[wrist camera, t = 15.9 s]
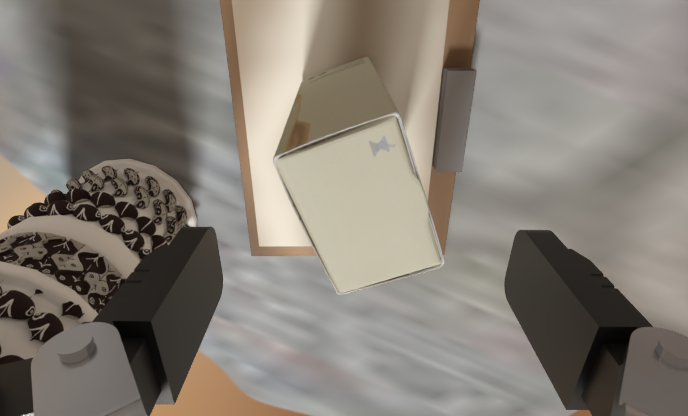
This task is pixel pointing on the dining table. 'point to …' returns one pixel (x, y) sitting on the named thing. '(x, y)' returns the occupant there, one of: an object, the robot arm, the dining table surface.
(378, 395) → the dining table surface
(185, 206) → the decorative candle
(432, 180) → the clipboard
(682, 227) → the dining table surface
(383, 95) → the skincare box
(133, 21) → the dining table surface
